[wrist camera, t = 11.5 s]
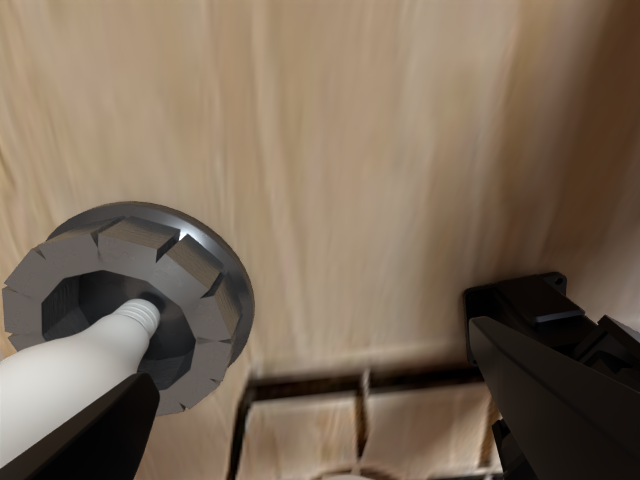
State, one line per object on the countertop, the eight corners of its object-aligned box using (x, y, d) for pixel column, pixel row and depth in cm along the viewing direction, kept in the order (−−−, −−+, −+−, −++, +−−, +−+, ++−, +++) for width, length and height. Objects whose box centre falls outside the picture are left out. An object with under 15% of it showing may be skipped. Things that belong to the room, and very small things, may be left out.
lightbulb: (129, 248, 20) (-81, 397, 9) (212, 306, 21) (108, 488, 11) (83, 310, 21) (-138, 494, 11) (162, 360, 23) (32, 561, 13)
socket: (278, 360, 24) (270, 405, 20) (106, 391, 25) (69, 439, 22) (214, 178, 19) (188, 194, 15) (3, 228, 20) (-68, 254, 16)
